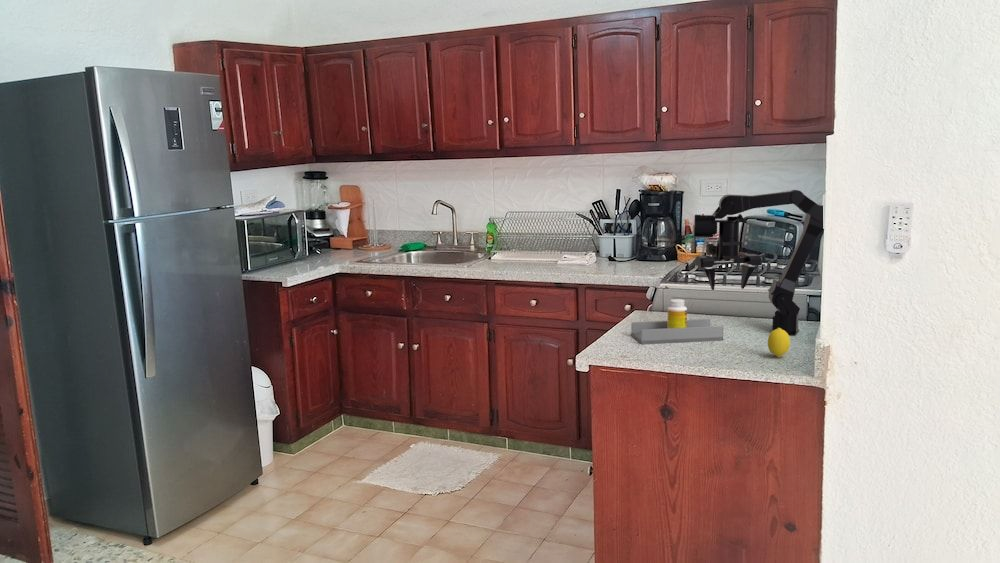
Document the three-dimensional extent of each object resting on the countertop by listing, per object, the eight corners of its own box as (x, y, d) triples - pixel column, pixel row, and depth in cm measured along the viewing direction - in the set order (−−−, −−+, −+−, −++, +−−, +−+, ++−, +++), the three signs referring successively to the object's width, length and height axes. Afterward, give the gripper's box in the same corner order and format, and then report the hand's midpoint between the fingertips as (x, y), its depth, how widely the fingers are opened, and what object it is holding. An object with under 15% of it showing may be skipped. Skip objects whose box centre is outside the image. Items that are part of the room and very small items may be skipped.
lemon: (763, 355, 209) (764, 326, 208) (783, 354, 209) (784, 325, 208) (772, 360, 204) (773, 330, 202) (793, 359, 204) (794, 329, 203)
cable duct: (708, 331, 238) (709, 318, 237) (723, 340, 226) (723, 326, 226) (631, 335, 235) (631, 322, 235) (641, 344, 224) (641, 330, 224)
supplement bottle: (687, 336, 228) (688, 302, 226) (668, 336, 228) (668, 302, 227) (685, 332, 233) (686, 298, 231) (666, 332, 234) (667, 298, 232)
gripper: (748, 233, 241) (746, 283, 244) (689, 235, 239) (688, 286, 242) (763, 237, 230) (762, 289, 233) (701, 239, 229) (700, 292, 231)
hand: (727, 289), depth 235 cm, fingers open, 9 cm apart
